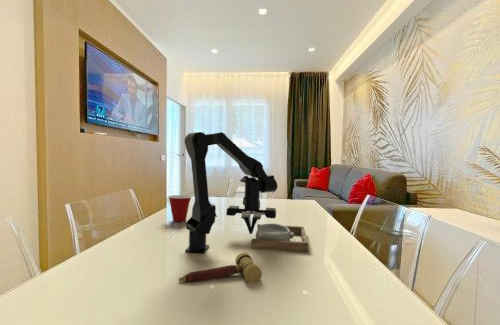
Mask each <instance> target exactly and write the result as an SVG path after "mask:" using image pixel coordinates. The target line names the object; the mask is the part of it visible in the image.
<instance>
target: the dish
mask: <svg viewBox="0 0 500 325" xmlns="http://www.w3.org/2000/svg"><path fill="white" fill-rule="evenodd" d="M261 224H262V225H259V227H258V230H257V229H256V232H255V239H266V240H281V241H291V239H293V238H294V236H295V234H294V233H293V232H292V233H291V232H290V230H289V229H288V228H287V227H286V226H287V225H284V224H283V225H282V224H279V223H274V222H273V223H261Z"/></svg>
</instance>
